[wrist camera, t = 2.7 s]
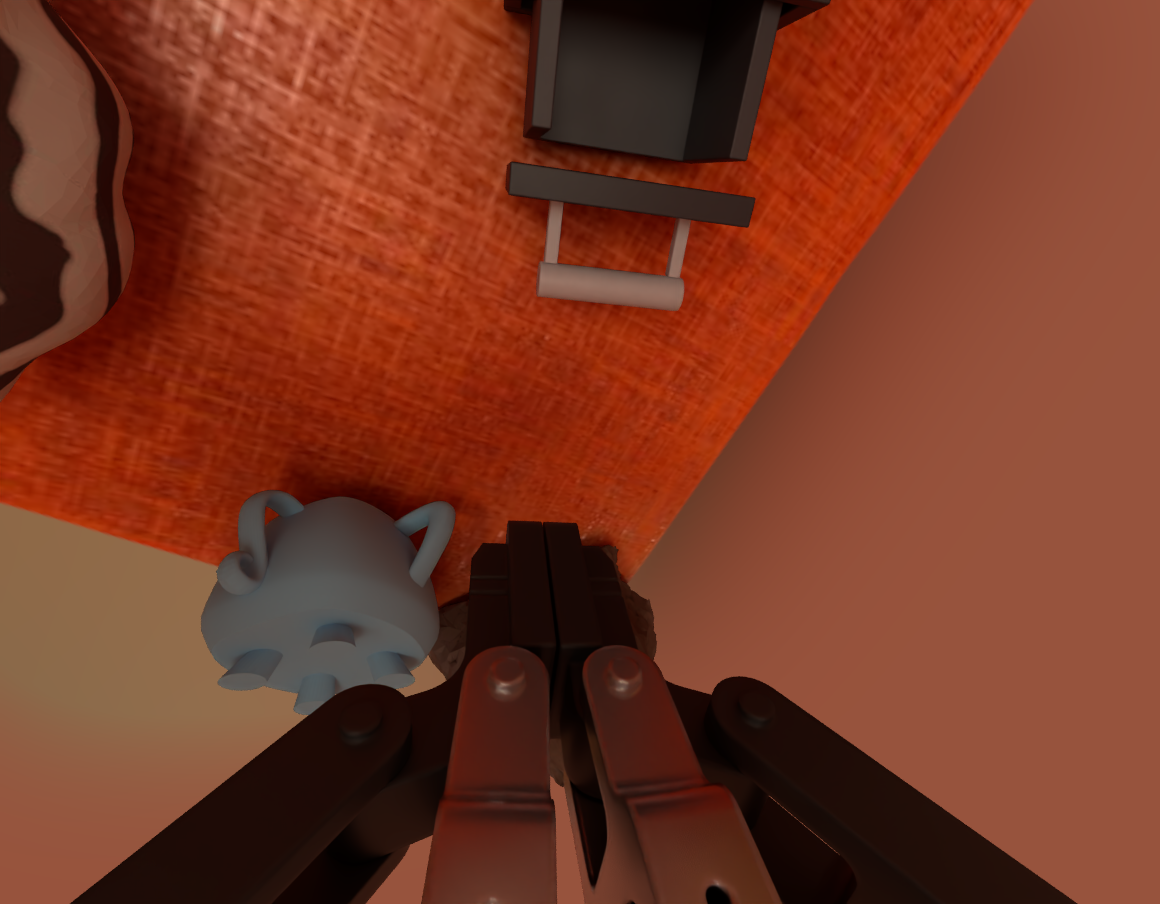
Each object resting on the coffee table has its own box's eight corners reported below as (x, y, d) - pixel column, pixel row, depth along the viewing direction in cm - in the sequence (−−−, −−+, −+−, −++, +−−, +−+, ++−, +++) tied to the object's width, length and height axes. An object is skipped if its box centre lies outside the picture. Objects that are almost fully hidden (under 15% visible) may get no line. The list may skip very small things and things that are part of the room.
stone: (629, 522, 39) (675, 616, 43) (435, 564, 45) (492, 642, 49) (600, 706, 27) (665, 807, 32) (344, 728, 34) (430, 810, 38)
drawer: (676, 293, 33) (724, 326, 26) (500, 273, 31) (501, 303, 24) (750, -77, 25) (846, -170, 18) (525, -132, 24) (537, -258, 17)
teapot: (459, 635, 28) (463, 470, 35) (114, 620, 23) (205, 433, 30) (419, 727, 36) (429, 577, 43) (158, 730, 31) (221, 560, 39)
